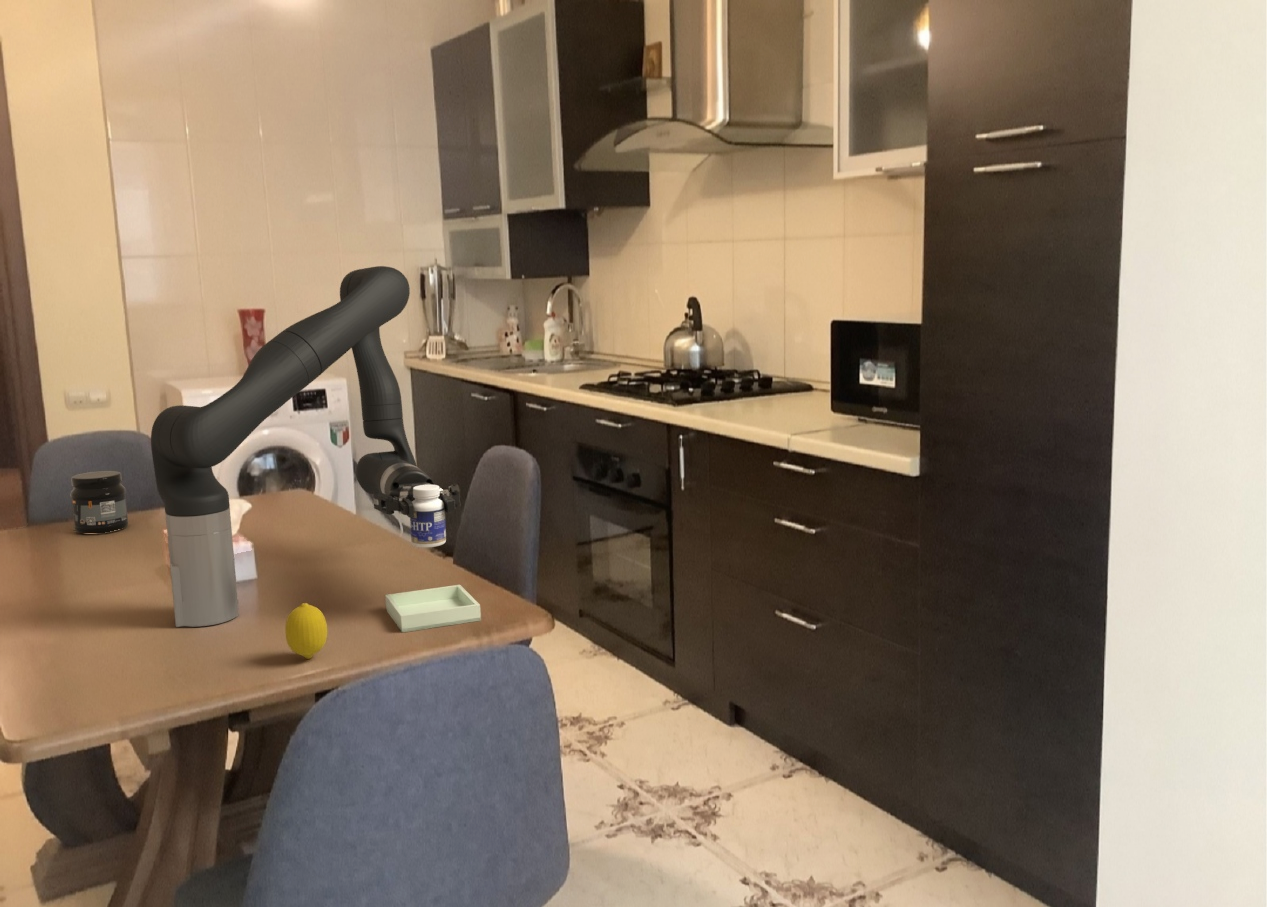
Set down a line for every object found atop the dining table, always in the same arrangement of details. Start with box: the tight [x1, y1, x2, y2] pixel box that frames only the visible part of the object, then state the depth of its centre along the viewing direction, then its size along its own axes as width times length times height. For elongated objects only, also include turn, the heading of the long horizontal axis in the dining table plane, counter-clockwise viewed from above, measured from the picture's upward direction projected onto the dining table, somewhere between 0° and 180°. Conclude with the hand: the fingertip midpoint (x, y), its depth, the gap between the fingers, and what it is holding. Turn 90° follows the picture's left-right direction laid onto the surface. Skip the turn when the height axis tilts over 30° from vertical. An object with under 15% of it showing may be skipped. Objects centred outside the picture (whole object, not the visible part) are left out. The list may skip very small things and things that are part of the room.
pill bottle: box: [409, 484, 447, 548], centre depth 162 cm, size 5×5×9 cm
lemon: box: [284, 602, 328, 660], centre depth 146 cm, size 6×6×8 cm
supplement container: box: [69, 470, 129, 534], centre depth 226 cm, size 10×10×12 cm
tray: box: [384, 584, 482, 633], centre depth 165 cm, size 12×12×2 cm
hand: (431, 508), depth 160 cm, fingers closed on pill bottle, 5 cm apart
